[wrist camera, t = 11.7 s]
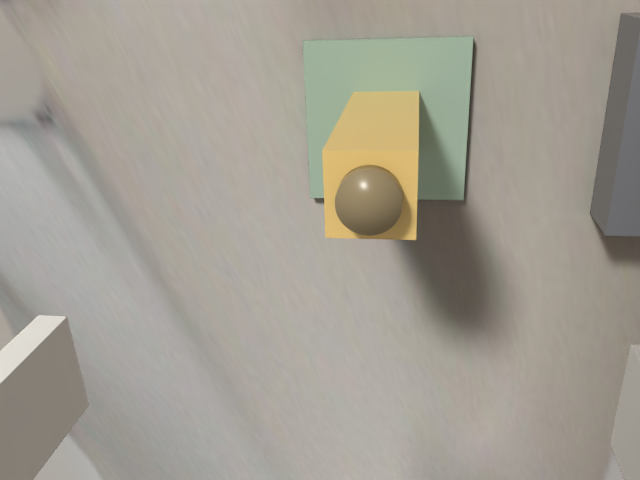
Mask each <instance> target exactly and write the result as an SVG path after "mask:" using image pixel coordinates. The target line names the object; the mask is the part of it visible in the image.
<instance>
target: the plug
mask: <svg viewBox="0 0 640 480" xmlns="http://www.w3.org/2000/svg"><path fill="white" fill-rule="evenodd" d="M418 156H419V91H387V92H353V93H352V95H351V97H350V99H349V101H348V103H347V105H346V107H345V109H344V110H343V112H342V114H341V116H340V118H339V120H338V122H337V124H336V126H335V127H334V129H333V131H332V133H331V135H330V137H329V139H328V141H327V143H326V144H325V146H324V148H323V150H322V160H323V185H324V210H325V234H326V238H358V239H397V240H416V228H417V192H418Z"/></svg>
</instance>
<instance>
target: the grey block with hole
mask: <svg viewBox="0 0 640 480" xmlns="http://www.w3.org/2000/svg"><path fill="white" fill-rule="evenodd" d="M590 214H591V216H592V217H593V219H594V220H595V221H596V223H597V224H598V226H599V227H600V229H601V230H602V232H603V233H604V235H605V236H640V13H622V14H621V17H620V24H619V30H618V37H617V43H616V50H615V56H614V62H613V69H612V75H611V82H610V88H609V95H608V101H607V108H606V114H605V120H604V127H603V133H602V140H601V146H600V153H599V159H598V166H597V172H596V178H595V185H594V191H593V198H592V204H591V211H590Z"/></svg>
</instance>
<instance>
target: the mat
mask: <svg viewBox="0 0 640 480" xmlns="http://www.w3.org/2000/svg"><path fill="white" fill-rule="evenodd" d="M472 52H473V36H461V37H423V38H384V39H346V40H308V41H303V58H304V78H305V98H306V118H307V138H308V158H309V178H310V198H324V185H323V160H322V150H323V148H324V146H325V144H326V143H327V141H328V139H329V137H330V135H331V133H332V131H333V129H334V127H335V126H336V124H337V122H338V120H339V118H340V116H341V114H342V112H343V110H344V109H345V107H346V105H347V103H348V101H349V99H350V97H351V95H352V93H353V92H387V91H419V156H418V192H417V200H463V199H464V183H465V166H466V150H467V134H468V118H469V101H470V85H471V69H472Z"/></svg>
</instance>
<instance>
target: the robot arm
mask: <svg viewBox="0 0 640 480" xmlns="http://www.w3.org/2000/svg"><path fill="white" fill-rule="evenodd" d="M88 406H89V402H88V398H87V394H86V390H85V386H84V382H83V379H82V375H81V371H80V367H79V363H78V359H77V355H76V351H75V347H74V343H73V339H72V335H71V331H70V327H69V323H68V319H67V317H62V316H42V315H39V316H38V317H36V318H35V319H34V320H33V321H32V322H31V323H30V324H29V325H28V326H27V327H26V328H25V329H23V330H22V331H21V332H20V333H19V334H18V335H17V336H16V337H15V338H14V339H13V340H12V341H11V342H9V344H7V345H6V346H5V347H4V348H3V349H2V350H1V351H0V480H33V479H34V478H35V477H36V475H37V474H38V473H39V471H40V470H41V468H42V467H43V466H44V465H45V463H46V462H47V461H48V459H49V458H50V457H51V455H52V454H53V453H54V451H55V450H56V449H57V447H58V445H60V443H61V442H62V440H63V439H64V438H65V437H66V435H67V434H68V433H69V431H70V430H71V429H72V427H73V426H74V424H75V423H76V422H77V420H78V419H79V418H80V416H81V415H82V414H83V412H84V411H85V410H86V408H87V407H88ZM610 444H611V447H612V450H613V452H614V455H615V457H616V460H617V462H618V465H619V467H620V470H621V472H622V475H623V478H624V480H640V345H630V349H629V354H628V359H627V364H626V368H625V373H624V378H623V383H622V388H621V393H620V397H619V402H618V407H617V412H616V417H615V422H614V426H613V431H612V436H611V441H610Z"/></svg>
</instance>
